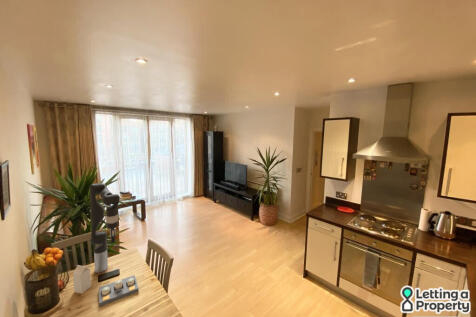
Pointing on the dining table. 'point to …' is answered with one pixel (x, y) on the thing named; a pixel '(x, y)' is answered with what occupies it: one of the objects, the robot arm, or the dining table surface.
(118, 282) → the button
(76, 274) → the milk carton
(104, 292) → the button
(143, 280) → the dining table surface
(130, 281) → the button
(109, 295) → the button board
